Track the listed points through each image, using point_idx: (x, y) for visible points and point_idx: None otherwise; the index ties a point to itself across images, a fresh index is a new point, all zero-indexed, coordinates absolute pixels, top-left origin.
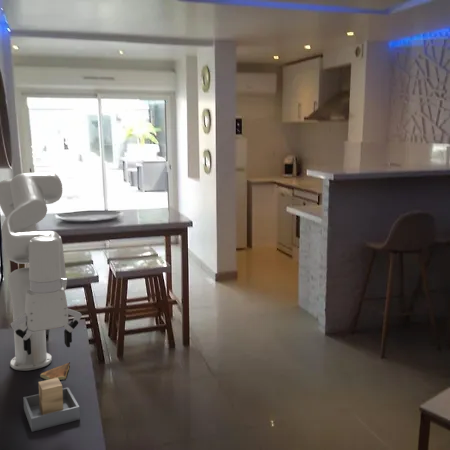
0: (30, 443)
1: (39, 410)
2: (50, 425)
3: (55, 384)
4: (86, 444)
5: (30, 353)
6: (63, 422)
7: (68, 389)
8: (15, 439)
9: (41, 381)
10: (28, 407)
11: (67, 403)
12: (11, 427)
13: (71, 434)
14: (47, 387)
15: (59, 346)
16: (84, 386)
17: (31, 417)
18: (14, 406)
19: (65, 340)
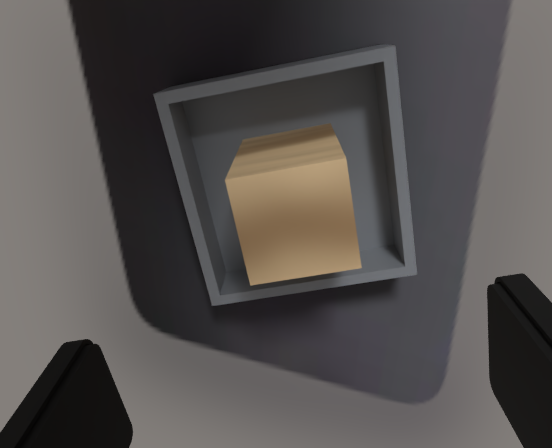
0: (220, 341)
1: (241, 141)
2: None
3: (324, 245)
4: (397, 397)
5: (125, 437)
6: None
7: (392, 76)
8: (167, 304)
9: (242, 178)
10: (191, 210)
11: (370, 114)
12: (139, 222)
13: (357, 333)
14: (278, 268)
15: None
16: None
17: (212, 298)
18: (120, 36)
19: (512, 363)
